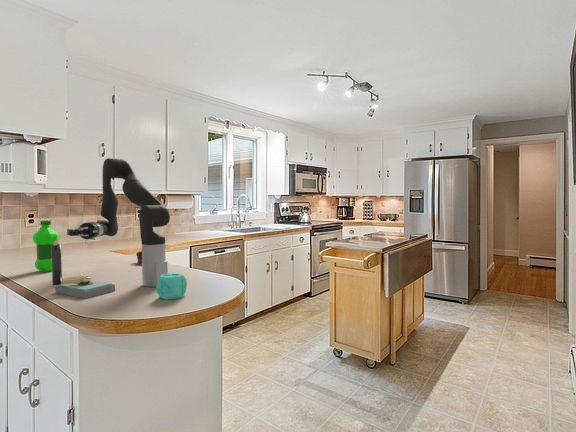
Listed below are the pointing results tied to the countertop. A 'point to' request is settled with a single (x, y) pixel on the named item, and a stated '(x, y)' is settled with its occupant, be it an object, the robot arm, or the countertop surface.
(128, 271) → the countertop surface
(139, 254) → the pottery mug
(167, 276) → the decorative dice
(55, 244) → the t key
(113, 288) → the plate
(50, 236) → the plastic bottle
